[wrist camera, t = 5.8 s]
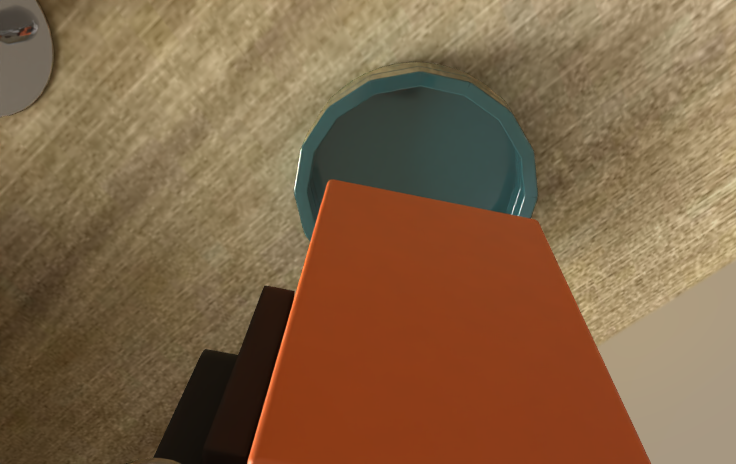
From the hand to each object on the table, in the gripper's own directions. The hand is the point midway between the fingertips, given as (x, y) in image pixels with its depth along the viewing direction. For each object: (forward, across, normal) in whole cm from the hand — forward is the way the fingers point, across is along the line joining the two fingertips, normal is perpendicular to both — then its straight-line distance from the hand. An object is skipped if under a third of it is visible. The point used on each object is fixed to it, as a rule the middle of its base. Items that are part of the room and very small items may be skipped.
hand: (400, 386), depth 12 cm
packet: (+2, 0, 0) cm, 2 cm away
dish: (+19, -1, +3) cm, 19 cm away
